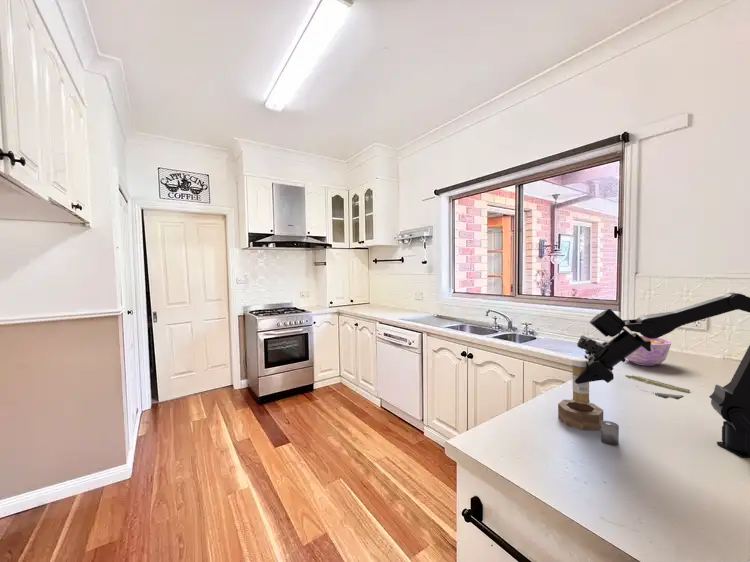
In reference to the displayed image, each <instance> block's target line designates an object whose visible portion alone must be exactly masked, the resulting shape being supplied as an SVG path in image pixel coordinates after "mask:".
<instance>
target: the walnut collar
mask: <svg viewBox="0 0 750 562" xmlns="http://www.w3.org/2000/svg"><path fill="white" fill-rule="evenodd" d="M557 413H558V414H557V418H558V419H559V420H560V421H561V422H563V423H564V424H565V425H567V426H570V427H572V428H575V429H578V430H583V431H599V430H600V431H601V421H604V409H602V408H601V407H599V406H598V405H596V404H595V403H593V402H590V403H589V404H579V403H576V402H574V401H573V399H562V400H561V401H560V402H558V404H557Z"/></svg>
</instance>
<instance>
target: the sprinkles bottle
mask: <svg viewBox="0 0 750 562" xmlns="http://www.w3.org/2000/svg"><path fill="white" fill-rule="evenodd" d="M586 361H587V362H588V363H589V360H588V359H585V357H577V356H576V357H572V358H571V367H572V370H571V371H572V376H571V377H572V400H573V401H574V402H576V403H579V404H589V403H591V402H590V382H586V383H581V384H577V383H576V382H575V380H576V379H577V377H578V376H579V375H580V374H581V373H582V372H583V371H584V370H585V369H586Z"/></svg>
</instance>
